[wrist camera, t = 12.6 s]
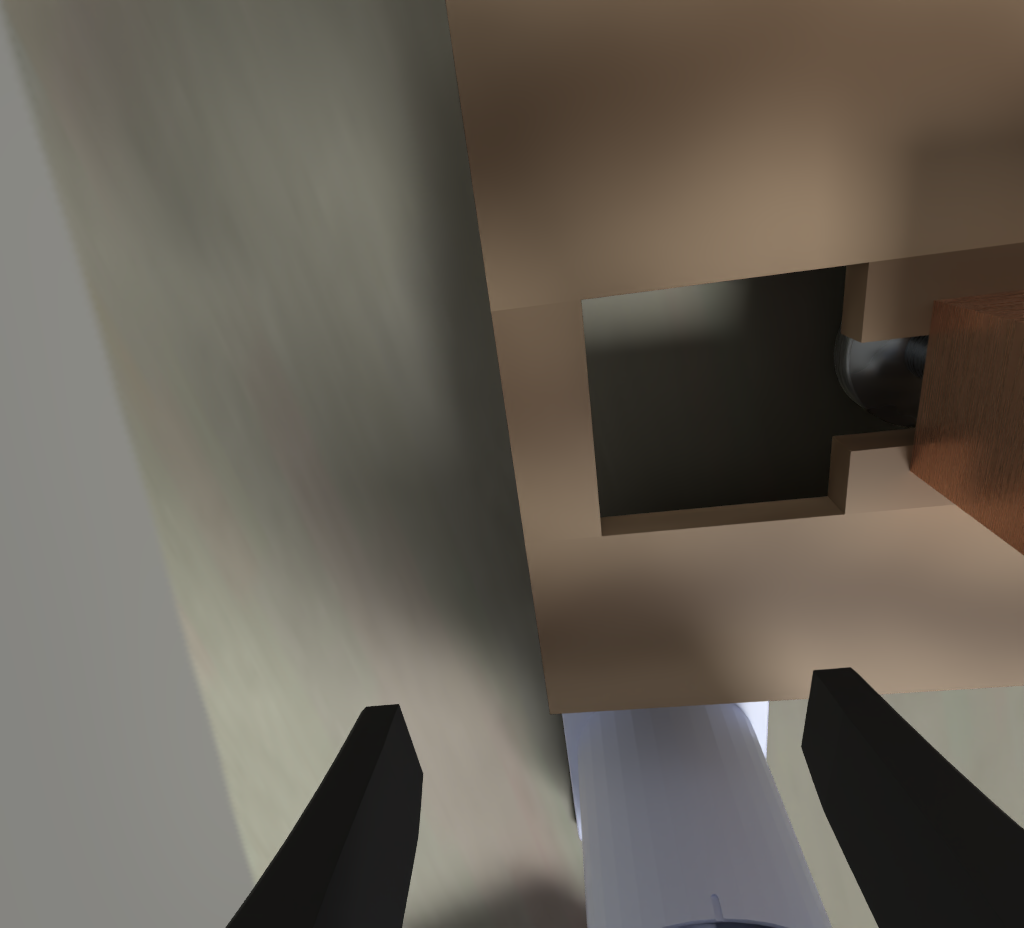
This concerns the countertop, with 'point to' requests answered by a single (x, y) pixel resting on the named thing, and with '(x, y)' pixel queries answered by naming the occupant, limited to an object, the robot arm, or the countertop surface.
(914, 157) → the keyhole board
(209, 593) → the countertop surface
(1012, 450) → the brown piece
